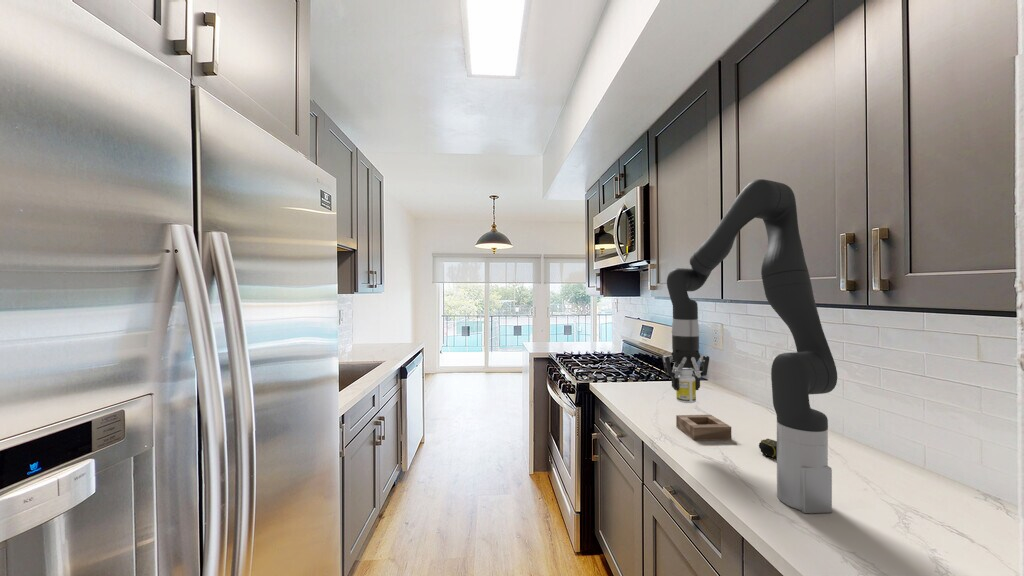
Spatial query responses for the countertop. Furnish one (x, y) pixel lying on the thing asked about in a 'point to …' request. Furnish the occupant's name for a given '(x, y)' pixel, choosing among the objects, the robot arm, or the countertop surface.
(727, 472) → the countertop surface
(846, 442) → the countertop surface
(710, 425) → the socket block
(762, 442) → the tape measure
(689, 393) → the supplement bottle
